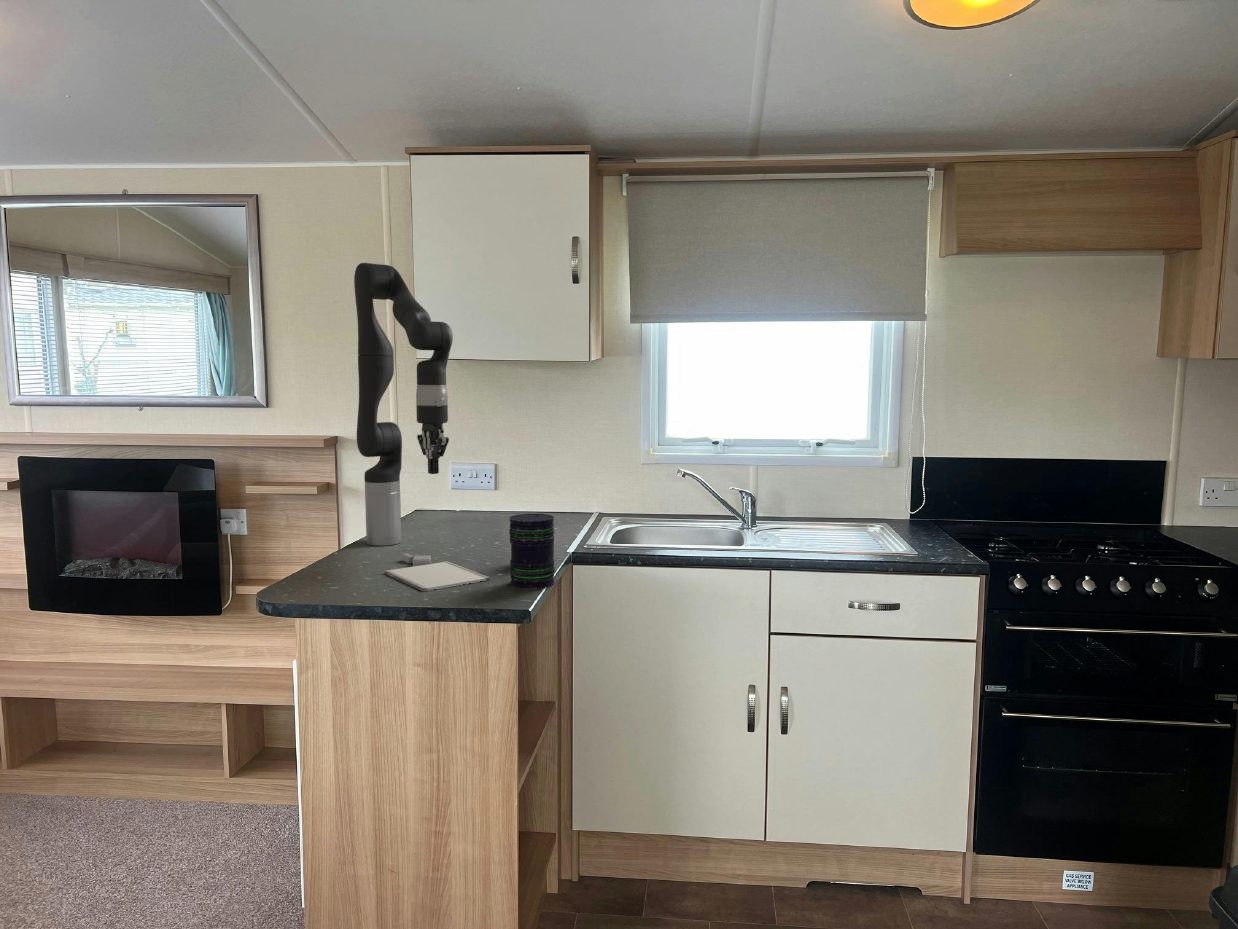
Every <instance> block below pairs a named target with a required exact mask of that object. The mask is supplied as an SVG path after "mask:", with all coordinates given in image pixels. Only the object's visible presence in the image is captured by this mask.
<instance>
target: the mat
mask: <svg viewBox="0 0 1238 929" xmlns="http://www.w3.org/2000/svg"><path fill="white" fill-rule="evenodd" d="M384 574H385V575H387V576H390V577H391V578H393V579H396V580H398V581H400V582H402V583H404V584H406V585H409V586H411V587H413V588H415V589H417V590H419V591H420V592H429V591H435V590H434V589H436V590H440V589H446V588H452V587H453V586H454V587H458V586H459V585H460V586H464V585H463V584H465V585H470V584H469V583H471V584H476V583H481V582H480V581H483V582H487V581H488V580H489V581H490V576H487V575H484V574H481V573H479V572H477V571H474V570H472V569H468V568H466V567H463V566H460V565H459V564H455V563H453V562H451V561H447V560H445V561H442V562H436V563H431V564H428V565H421V566H414V567H413V566H409V567H401V568H394V569H385V570H384Z"/></svg>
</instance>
